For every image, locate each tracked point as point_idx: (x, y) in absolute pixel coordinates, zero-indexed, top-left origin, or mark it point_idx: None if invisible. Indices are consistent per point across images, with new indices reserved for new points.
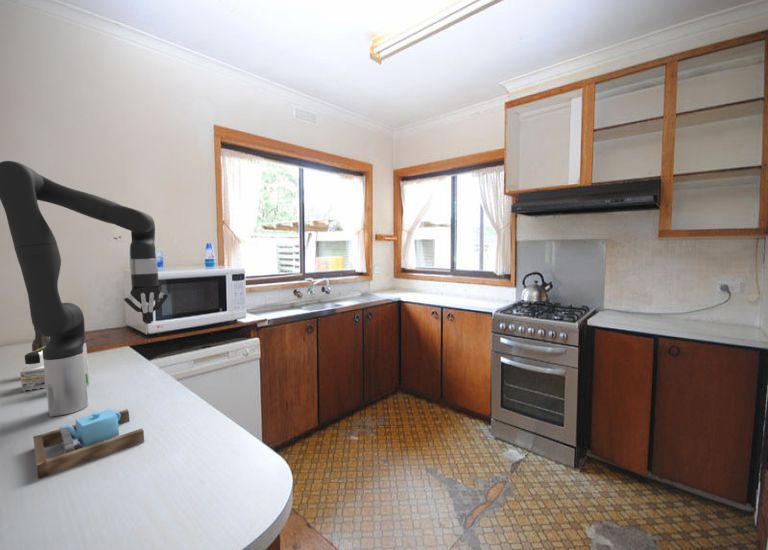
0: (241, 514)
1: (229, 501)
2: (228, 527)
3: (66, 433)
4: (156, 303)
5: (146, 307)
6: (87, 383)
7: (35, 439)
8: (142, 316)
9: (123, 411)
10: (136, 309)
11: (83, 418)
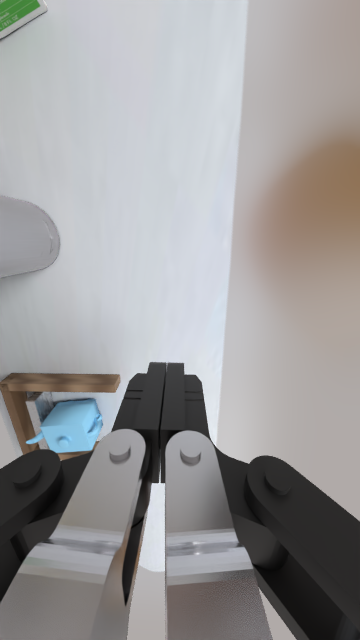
0: (159, 559)
1: (158, 549)
2: (149, 561)
3: (38, 426)
4: (329, 588)
5: (134, 577)
6: (39, 7)
7: (4, 395)
8: (120, 416)
9: (108, 388)
10: (17, 558)
11: (49, 430)
